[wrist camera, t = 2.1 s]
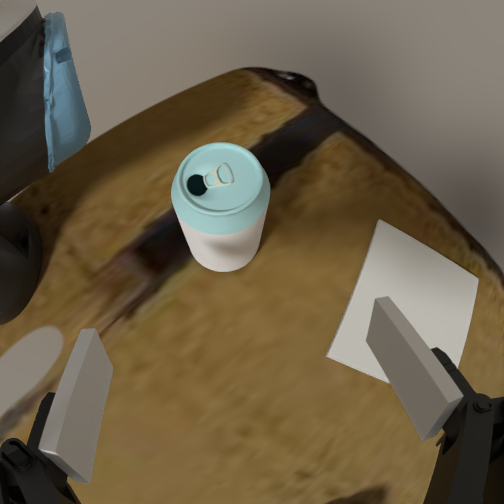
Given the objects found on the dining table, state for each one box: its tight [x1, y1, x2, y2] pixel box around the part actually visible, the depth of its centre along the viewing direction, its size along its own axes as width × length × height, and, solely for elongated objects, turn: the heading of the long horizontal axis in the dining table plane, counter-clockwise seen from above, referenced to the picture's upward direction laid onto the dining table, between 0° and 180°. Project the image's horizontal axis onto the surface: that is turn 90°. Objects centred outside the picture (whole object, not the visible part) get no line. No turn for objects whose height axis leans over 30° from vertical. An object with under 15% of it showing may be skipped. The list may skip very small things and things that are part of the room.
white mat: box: [326, 219, 479, 383], centre depth 30 cm, size 16×16×1 cm
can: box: [171, 142, 270, 272], centre depth 26 cm, size 7×7×12 cm
